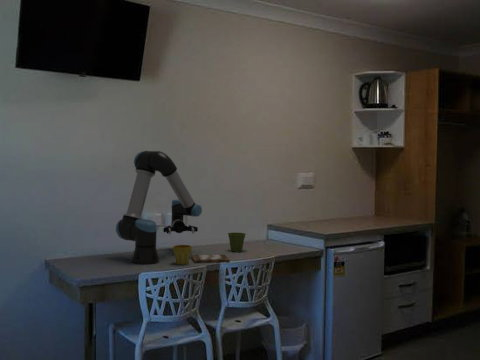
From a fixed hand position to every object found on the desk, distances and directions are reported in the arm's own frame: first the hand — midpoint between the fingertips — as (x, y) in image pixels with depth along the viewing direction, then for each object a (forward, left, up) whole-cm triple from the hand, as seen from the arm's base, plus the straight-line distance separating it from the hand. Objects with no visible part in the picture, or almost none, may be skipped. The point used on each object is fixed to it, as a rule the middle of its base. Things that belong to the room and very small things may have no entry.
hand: (181, 231), depth 296 cm
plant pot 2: (+37, +24, -16) cm, 47 cm away
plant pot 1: (-1, -11, -16) cm, 20 cm away
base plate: (+16, -3, -16) cm, 23 cm away
